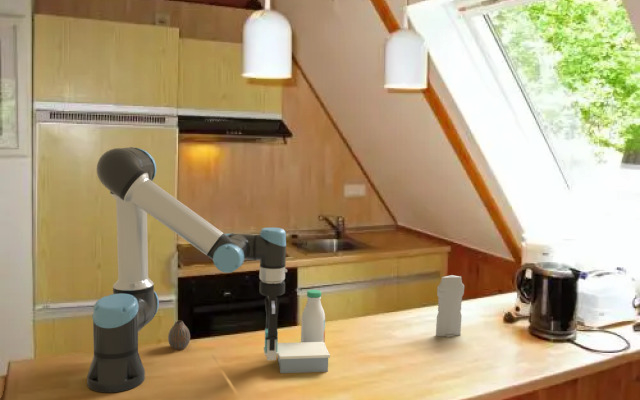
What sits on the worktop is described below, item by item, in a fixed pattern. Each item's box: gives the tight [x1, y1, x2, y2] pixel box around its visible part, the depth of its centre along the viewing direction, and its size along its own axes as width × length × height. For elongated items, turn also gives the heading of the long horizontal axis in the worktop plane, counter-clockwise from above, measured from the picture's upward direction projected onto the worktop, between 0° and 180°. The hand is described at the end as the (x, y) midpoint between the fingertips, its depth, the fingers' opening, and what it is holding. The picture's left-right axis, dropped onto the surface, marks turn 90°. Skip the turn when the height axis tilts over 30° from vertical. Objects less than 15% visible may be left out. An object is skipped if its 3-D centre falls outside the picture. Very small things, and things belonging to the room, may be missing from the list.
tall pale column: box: [435, 274, 465, 338], centre depth 203 cm, size 11×4×22 cm, turn 105°
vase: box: [167, 320, 191, 351], centre depth 184 cm, size 7×7×9 cm
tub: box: [277, 355, 329, 374], centre depth 171 cm, size 14×10×5 cm
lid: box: [263, 328, 331, 359], centre depth 170 cm, size 19×11×7 cm, turn 99°
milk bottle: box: [300, 289, 326, 344], centre depth 184 cm, size 8×8×20 cm
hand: (270, 356), depth 170 cm, fingers closed on lid, 5 cm apart
